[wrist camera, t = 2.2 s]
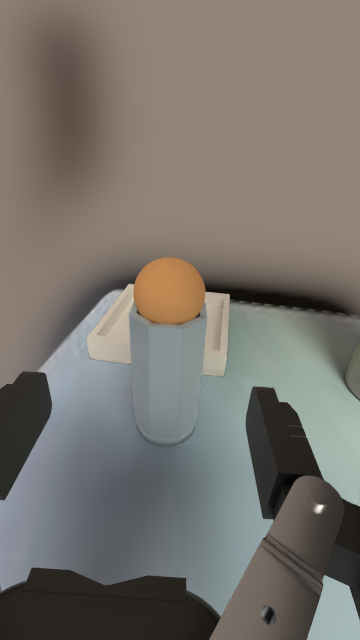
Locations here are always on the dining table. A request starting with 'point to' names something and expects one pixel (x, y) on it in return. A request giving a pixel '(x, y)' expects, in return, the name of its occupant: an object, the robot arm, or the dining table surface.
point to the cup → (166, 376)
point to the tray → (114, 332)
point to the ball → (169, 292)
